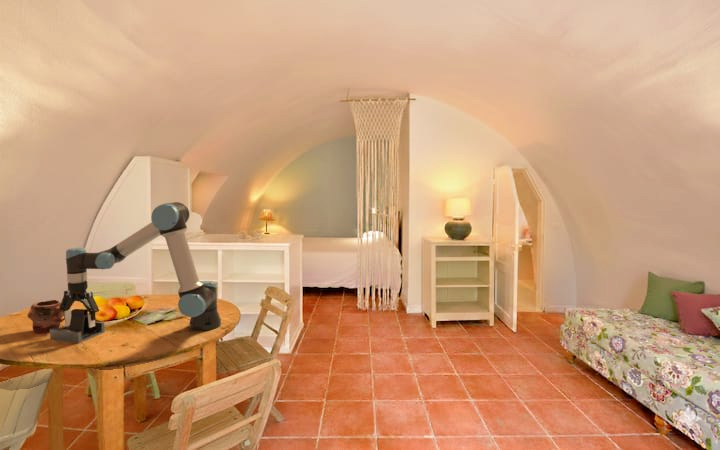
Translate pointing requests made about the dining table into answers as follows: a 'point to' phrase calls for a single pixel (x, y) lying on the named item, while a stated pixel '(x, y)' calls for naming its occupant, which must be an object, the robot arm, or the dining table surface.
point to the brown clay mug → (46, 316)
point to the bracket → (75, 333)
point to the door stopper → (80, 321)
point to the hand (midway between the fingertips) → (80, 325)
